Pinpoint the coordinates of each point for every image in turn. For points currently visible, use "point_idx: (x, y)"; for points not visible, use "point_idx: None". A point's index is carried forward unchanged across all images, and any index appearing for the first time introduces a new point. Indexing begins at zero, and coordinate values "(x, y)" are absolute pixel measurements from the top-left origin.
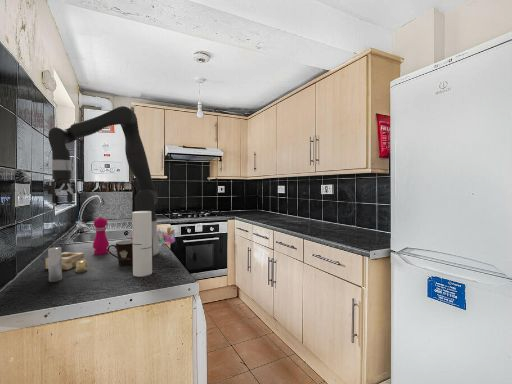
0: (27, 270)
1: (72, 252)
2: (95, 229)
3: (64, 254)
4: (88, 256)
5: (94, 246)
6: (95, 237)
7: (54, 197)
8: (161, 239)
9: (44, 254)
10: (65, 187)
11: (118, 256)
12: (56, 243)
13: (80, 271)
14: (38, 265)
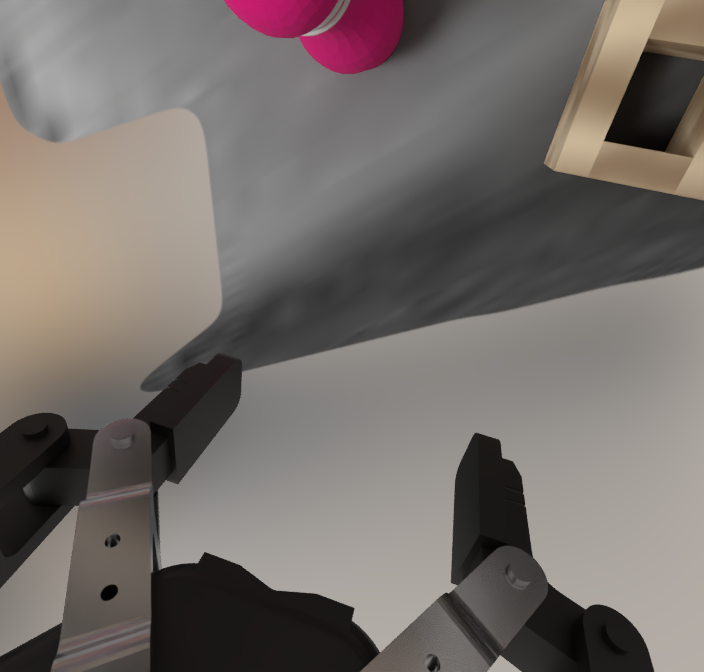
0: (675, 268)
1: (583, 100)
2: (333, 17)
3: (604, 141)
4: (436, 72)
5: (394, 37)
6: (348, 37)
7: (526, 539)
8: None
9: (363, 341)
10: (208, 647)
11: None
12: None
13: None
14: (582, 265)
